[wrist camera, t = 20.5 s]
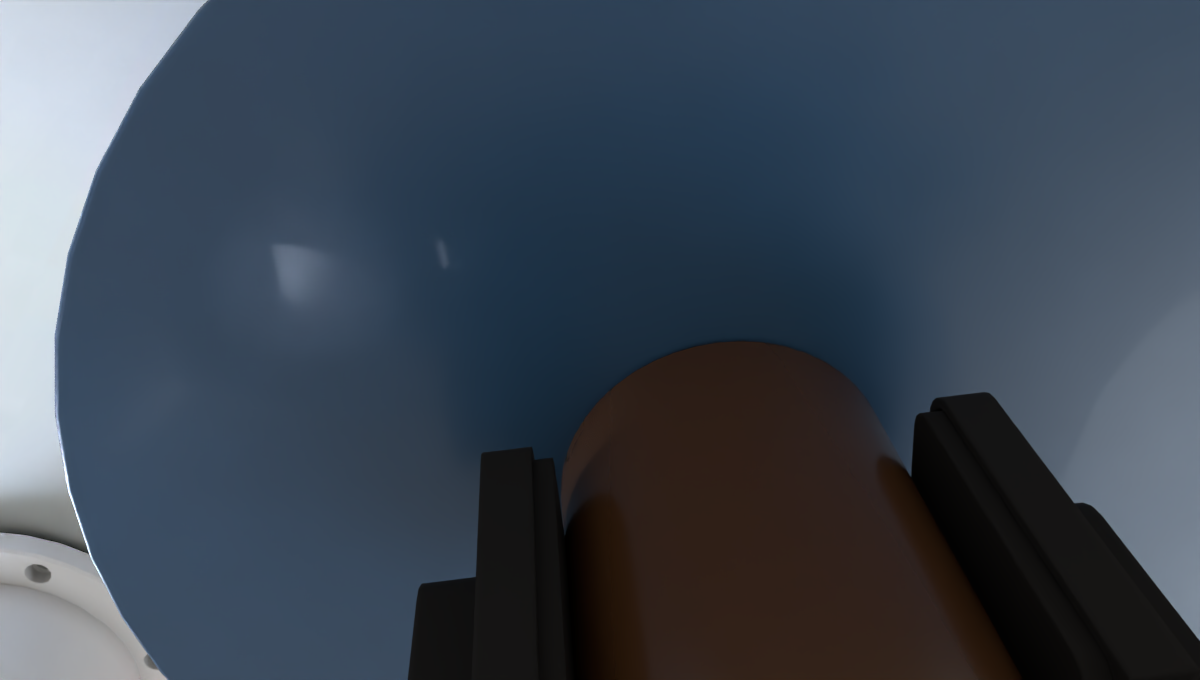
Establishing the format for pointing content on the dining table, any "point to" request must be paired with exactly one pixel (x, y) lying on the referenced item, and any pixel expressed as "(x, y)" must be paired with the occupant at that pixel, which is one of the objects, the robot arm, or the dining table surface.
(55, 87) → the dining table surface
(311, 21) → the tin lid
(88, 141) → the dining table surface
